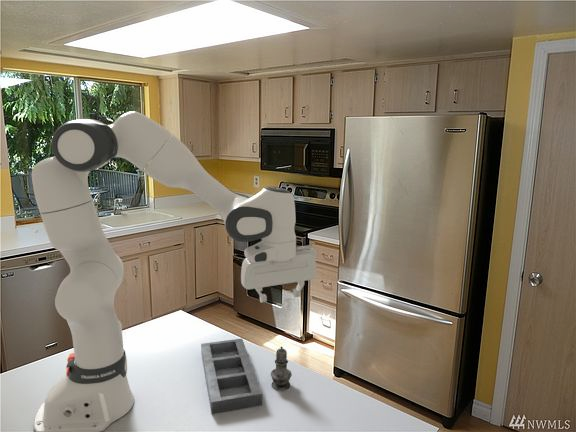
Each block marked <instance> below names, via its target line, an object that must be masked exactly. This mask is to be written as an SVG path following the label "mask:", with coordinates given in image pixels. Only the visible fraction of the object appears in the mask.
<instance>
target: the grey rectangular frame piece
mask: <svg viewBox="0 0 576 432" xmlns="http://www.w3.org/2000/svg"><path fill="white" fill-rule="evenodd" d="M200 348H201V349H200V351H201V352H200V354H201V361H202V365H203V371H204V377H205V384H206V389H207V396H208V402H209V407H210V414H211V415H215V414H222V413H227V412H233V411H238V410H239V411H240V410H244V409H249V408H256V407H261V406H263V392H262V389H261V387H260V383H259V381H258V379H257V375H256V372H255V370H254V367H253V364H252V361H251V359H250V356H249V353H248V351H247V348H246V345H245V343H244V339H243V338H237V339H236V338H235V339H228V340H227V339H226V340H221V341H219V340H218V341H211V342H203V343H201V344H200ZM232 352H233V353H234V352H235V355H229V356H227V355H226V356H222V357H221V356H220V357H219V356H218V357H214V358H213V355H216V354H217V355H218V354H224V353H225V354H227V353H232ZM239 368H240V371H241V372H237V373H231V374H224V375H218V376H217V374H216V372H217V371H225V370H231V369H239ZM240 387H246V390H247V392H246V393H240V394H234V395H228V396H223V397H221V393H220V391H221V390H222V391H223V390H228V389H234V388H240Z"/></svg>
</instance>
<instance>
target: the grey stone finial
mask: <svg viewBox="0 0 576 432" xmlns="http://www.w3.org/2000/svg"><path fill="white" fill-rule="evenodd" d="M279 347H280V348H278V349H277V350H276V352H275V353H276V354H275V359H274V363H275V368H274V369H273V370H272V371H271V372H270V376H271V380H272V382H271V388H272V390H275V391H278V392H285V391H288V390H289V389H290V388H291V382H290V380H291V377H292V371H291V370H290V369H288V367H287V366H288V364H289V363H288V362H289V360H288V359H287V358H288V357H287V355H288V353H287V350H286V349H285V348H283V346H279Z"/></svg>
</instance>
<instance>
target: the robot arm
mask: <svg viewBox="0 0 576 432" xmlns="http://www.w3.org/2000/svg"><path fill="white" fill-rule="evenodd" d="M51 149H52V153H53V155H54V156H51V157H46V158H44V159H42V160H40V161H39V162H37V163H35V165H34V166H33V167H32V169H31V183H32V189H33V193H34V200H35V202H36V205H37V208H38V212H39V214H40V218H41V221H42V222H43V225H44V228H45V232H46V235H47V237H48V240H49V242H50V245H51V246H52V247H53V248H54V249H55V250H57V251H59V253H60V254H61V255H62V256H63V258H64V260H65V261H66V262H67V264H68V266H69V269H70V272H69V274H68V275H66V276H65V278H64V279H63V280H62V281H61V283H60V285H59V287H58V289H57V292H56V295H55V297H54V306H55V309H56V311H57V314H59V315H60V316H61V317H62V318H63V319H64V320H66V322H67V324H68V327H69V329H70V333H71V337H72V345H73V352H72V353H70V354H69V355H68V357H67V359H66V360H67V364H66V371H65V373H66V374H64V376H62V377H60V378H59V379H58V380H56V381H55V382H54V383H53V384H52V385H51V387H50V388H49V390H48V392H47V394H46V397H45V400H44V401H43V402H42V404H41V405H40V406H39V408H38V410H37V412H36V414H35V417H34V422H33V430H34V432H103V431H105V430H106V429H107V428H108V427H109V426H110V425H111V424H112V423H113V422H115V421H117V420H119V419H121V418H122V417H123V416H125V415H126V414H128V412H129V411H131V409H132V407H133V406H134V403H135V397H134V395H133V392H132V390H131V388H130V384H129V380H128V376H127V372H128V359H127V355H126V350H125V349H124V340H123V326H122V323H121V321H120V320H119V319H118V316H117V312H116V308H115V303H114V302H115V296H116V293H117V291H118V289H119V287H120V285H121V284H122V282H123V280H124V272H125V271H124V270H125V267H124V266H125V265H124V262H123V259H121V258H120V256H118V254H117V253H116V252H115V251H114V249H113V246H112V245H111V243H110V242H109V239H108V238H107V236H106V234H105V232H104V230H103V227H102V224H101V221H100V218H99V215H98V211H97V209H96V206H95V203H94V199H93V197H92V194H91V191H90V188H89V183H88V182H89V181H88V177H89V174H90V172H93V171H94V170H97V169H100V168H102V167H103V166H105V165H107V164H108V163H109V162H110V161H111V160H112V159H114V158H122V159H124V160H126V161H128V162H129V163H131V164H132V165H134V166H135V167H136V168H137V169H139V170H140V171H141V172H142V173H144V174H146V175H147V176H148V177H150V178H151V179H153V180H154V181H156V182H157V183H160V184H162V185H163V186H165V187H168V188H174V189H175V188H177V189H178V188H179V189H184V190H188V191H189V192H192V193H193V194H195V195H196V196H198V197H199V198H201V200H203V201H204V202H206V203H207V204H208V205H210V206H211V207H212V208H213V209H215V210H216V211H217V213H218V214H219V215H220V217H221V219H222V222H224V227H225V230H226V233H227V234H228V235H229V237H230V238H231V239H233V240H234V241H236V242H239V243H247V242H253V241H256V240H257V241H258V240H261V241H259V242H257V243H255V244H253V245H251V246H247V247H246V248H245V249H244V253H243V255H244V257H245V258H244V259H243V260H242V264H241V271H240V282H241V285H242V287H243V288H244V289H246V290H255V291H256V292H257V294H258V295H259V301H260V304H261V303H262V304H263V303H268V299H267V298H268V296H267V294H265V293H262V291H263V288H267V287H271V286H272V287H273V286H279V285H286V284H291V283H292V284H293V283H297V285H296V288H293V289H292V294H293V297H295V298H297V297H298V298H299V297H301V295H302V294H301V291H302V289H303V288H304V286H305V281H312V280H315V279H316V278H317V276H318V270H317V269H318V268H317V262H316V258H317V249H316V248H315V246H312V245H309V244H308V245H307V244H306V245H304V246H303V245H300V246H297V235H296V232H295V225H296V223H297V221H296V203H295V198H294V196H293V193H291V191H290V190H288V189H286V188H284V187H283V188H282V187H280V186H279V187H277V186H266V187H265V186H264V187H263V188H261V190H260V191H259V192H257V193H256V194H254V195H253V196H251V197H250V196H248V195H245V194H241V193H237V192H235V191H232V190H230V189H229V188H228V187H227V186H225V185H224V184H223V183H221V182H220V181H219V180H218V179H216V178H215V177H213V176H212V175H211V174H210V173H208V172H207V170H205V168H204V166H202V164H201V163H200V161H199V160H198V159H197V157H195V155H194V154H193V152H192V151H191V150H190V149H189V148H188V147H187V146H186V145H185V143H183V141H181V140H180V139H179V138H178V137H177V136H175V134H173V133H172V132H170V131H169V130H168V129H166V128H165V127H164V126H162V125H161V124H160V123H159V122H156V121H155V120H153V119H152V118H150V117H149V116H147V115H144V114H143V113H141V112H138V111H132V110H131V111H128V112H125V113H123V114H122V115H120V116H118V118H116V120H115V121H114V122H112V123H111V124H107V123H105V122H103V121H101V120H97V119H92V118H78V119H74V120H69V121H66V122H64V123H63V124H61V125H60V126H59V127H58V128H57V129H56V130H55V131H54V133H53V135H52V139H51Z"/></svg>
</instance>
